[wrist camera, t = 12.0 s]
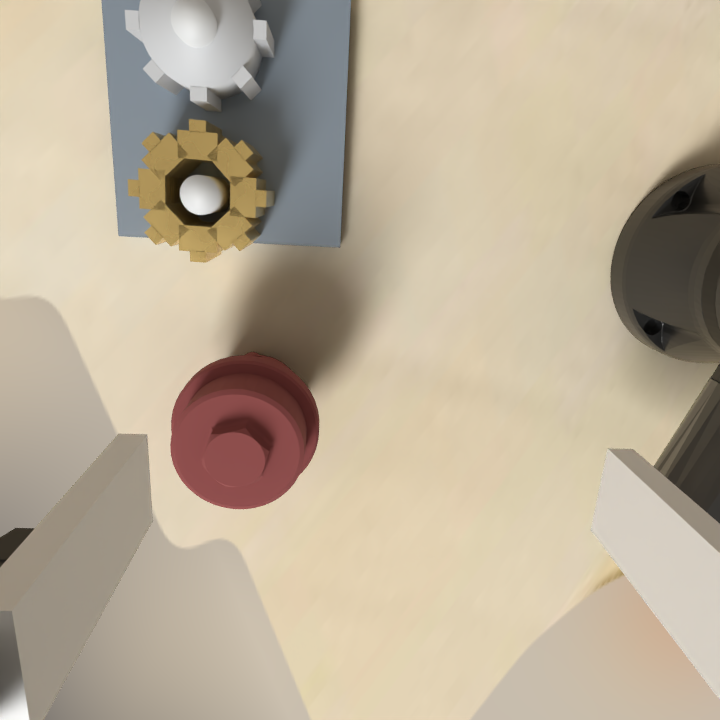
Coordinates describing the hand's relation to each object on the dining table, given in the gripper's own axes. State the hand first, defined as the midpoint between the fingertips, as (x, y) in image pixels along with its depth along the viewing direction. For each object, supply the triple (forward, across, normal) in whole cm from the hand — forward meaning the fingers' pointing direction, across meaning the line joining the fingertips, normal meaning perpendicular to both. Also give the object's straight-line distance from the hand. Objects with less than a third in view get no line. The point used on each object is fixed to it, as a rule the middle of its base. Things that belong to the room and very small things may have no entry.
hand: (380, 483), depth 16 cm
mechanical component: (+29, +7, +8) cm, 31 cm away
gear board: (+29, +9, -12) cm, 32 cm away
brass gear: (+27, +10, -7) cm, 30 cm away
